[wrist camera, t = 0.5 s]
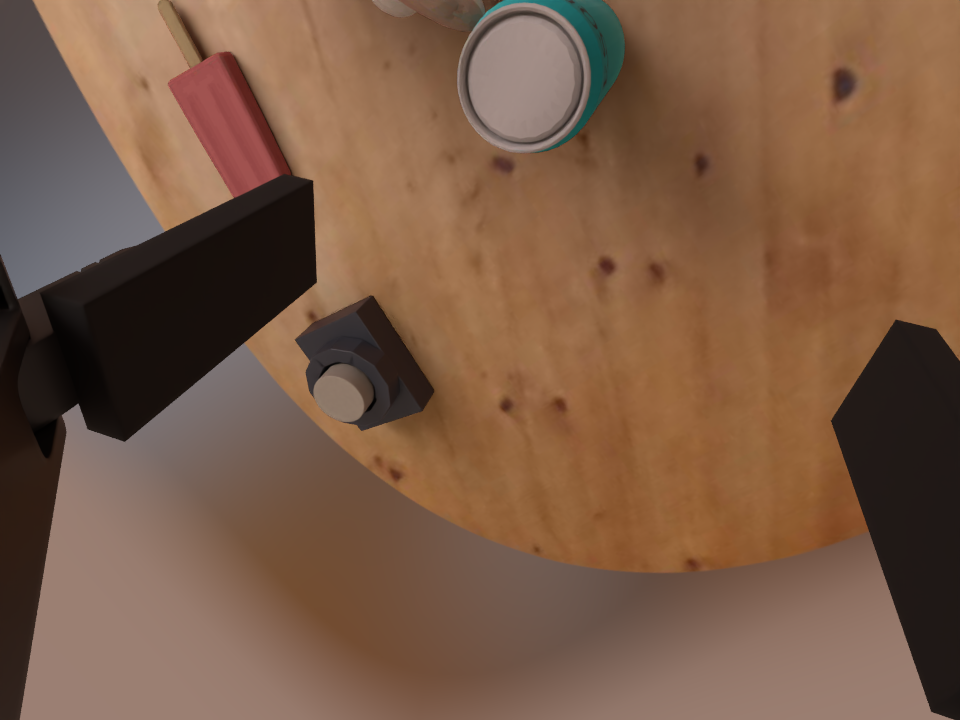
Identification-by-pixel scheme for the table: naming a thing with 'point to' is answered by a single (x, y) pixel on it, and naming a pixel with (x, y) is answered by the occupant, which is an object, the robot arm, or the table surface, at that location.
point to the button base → (367, 360)
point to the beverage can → (538, 70)
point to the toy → (438, 11)
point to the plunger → (344, 392)
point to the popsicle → (223, 113)
